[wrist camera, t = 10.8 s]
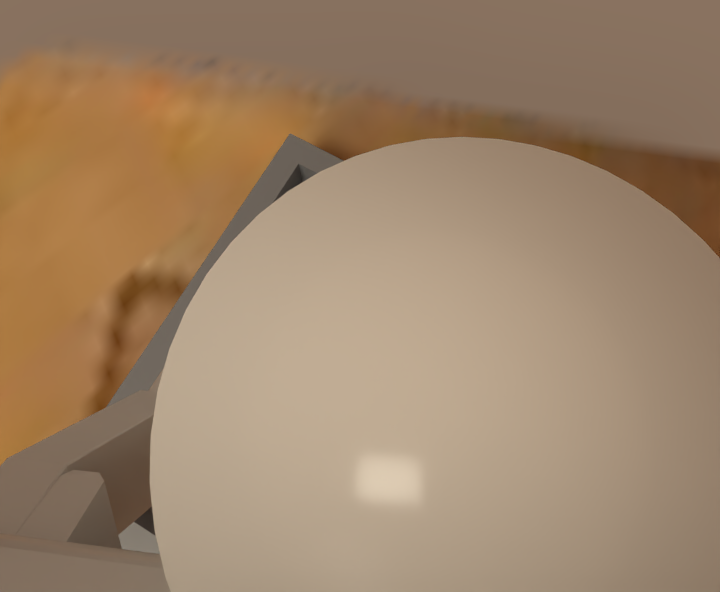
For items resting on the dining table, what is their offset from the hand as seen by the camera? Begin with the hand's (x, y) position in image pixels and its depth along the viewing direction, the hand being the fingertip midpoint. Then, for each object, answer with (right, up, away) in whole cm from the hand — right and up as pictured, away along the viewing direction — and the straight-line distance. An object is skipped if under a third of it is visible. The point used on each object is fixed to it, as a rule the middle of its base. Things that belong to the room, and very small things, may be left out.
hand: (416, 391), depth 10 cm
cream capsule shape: (0, -2, +6) cm, 6 cm away
